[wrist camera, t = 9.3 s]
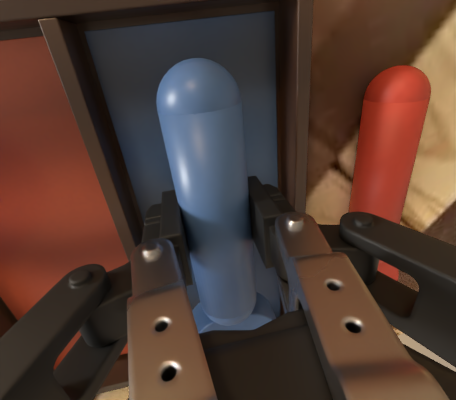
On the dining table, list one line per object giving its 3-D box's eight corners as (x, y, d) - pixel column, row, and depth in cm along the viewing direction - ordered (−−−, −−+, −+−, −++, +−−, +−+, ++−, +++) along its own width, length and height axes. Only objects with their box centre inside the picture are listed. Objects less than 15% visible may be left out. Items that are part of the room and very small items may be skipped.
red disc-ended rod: (333, 71, 14) (368, 74, 11) (426, 58, 14) (479, 59, 12) (316, 301, 22) (334, 332, 19) (376, 287, 22) (401, 315, 20)
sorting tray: (-199, 34, 10) (-313, 27, 7) (287, -15, 12) (315, -32, 9) (51, 369, 20) (36, 409, 18) (287, 313, 22) (300, 343, 19)
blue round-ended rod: (114, 67, 9) (94, 71, 7) (260, 48, 10) (290, 46, 7) (194, 355, 17) (198, 404, 15) (272, 336, 18) (288, 380, 16)
